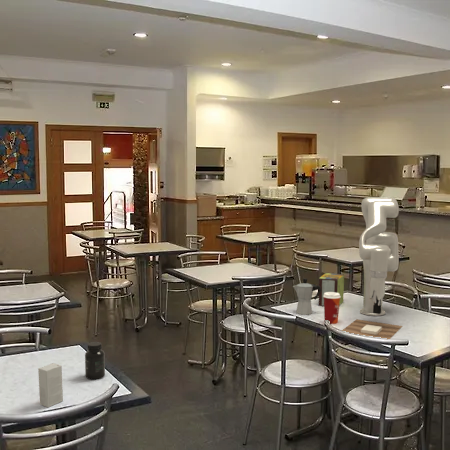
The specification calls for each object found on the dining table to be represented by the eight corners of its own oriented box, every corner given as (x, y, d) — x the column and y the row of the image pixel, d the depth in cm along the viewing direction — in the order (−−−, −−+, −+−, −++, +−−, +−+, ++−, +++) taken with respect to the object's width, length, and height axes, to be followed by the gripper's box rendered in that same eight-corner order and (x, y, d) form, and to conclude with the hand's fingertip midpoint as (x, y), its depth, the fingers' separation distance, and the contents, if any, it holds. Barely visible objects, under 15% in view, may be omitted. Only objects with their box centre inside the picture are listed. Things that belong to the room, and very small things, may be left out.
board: (356, 321, 274) (356, 319, 274) (402, 328, 263) (402, 326, 263) (340, 334, 254) (340, 331, 254) (389, 342, 242) (389, 339, 242)
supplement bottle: (82, 375, 203) (81, 343, 201) (100, 371, 207) (99, 339, 205) (89, 381, 197) (89, 348, 196) (108, 377, 201) (107, 344, 200)
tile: (366, 324, 259) (360, 329, 252) (382, 326, 256) (376, 331, 248) (366, 327, 260) (360, 332, 252) (381, 330, 256) (376, 335, 248)
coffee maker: (291, 314, 286) (292, 279, 284) (291, 310, 295) (292, 276, 293) (321, 315, 284) (322, 280, 282) (320, 311, 293) (321, 277, 291)
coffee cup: (339, 327, 264) (340, 296, 263) (322, 326, 266) (322, 295, 264) (339, 322, 273) (340, 292, 271) (322, 321, 274) (323, 291, 273)
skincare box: (54, 398, 183) (53, 362, 182) (63, 401, 181) (62, 365, 179) (38, 404, 178) (37, 368, 177) (47, 408, 176) (46, 371, 174)
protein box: (343, 301, 314) (344, 274, 312) (337, 308, 300) (338, 279, 298) (325, 299, 318) (325, 272, 316) (317, 306, 304) (318, 277, 302)
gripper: (375, 270, 267) (373, 308, 269) (365, 276, 254) (364, 315, 256) (391, 272, 263) (389, 310, 265) (382, 278, 250) (380, 318, 253)
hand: (377, 313), depth 261 cm, fingers closed
